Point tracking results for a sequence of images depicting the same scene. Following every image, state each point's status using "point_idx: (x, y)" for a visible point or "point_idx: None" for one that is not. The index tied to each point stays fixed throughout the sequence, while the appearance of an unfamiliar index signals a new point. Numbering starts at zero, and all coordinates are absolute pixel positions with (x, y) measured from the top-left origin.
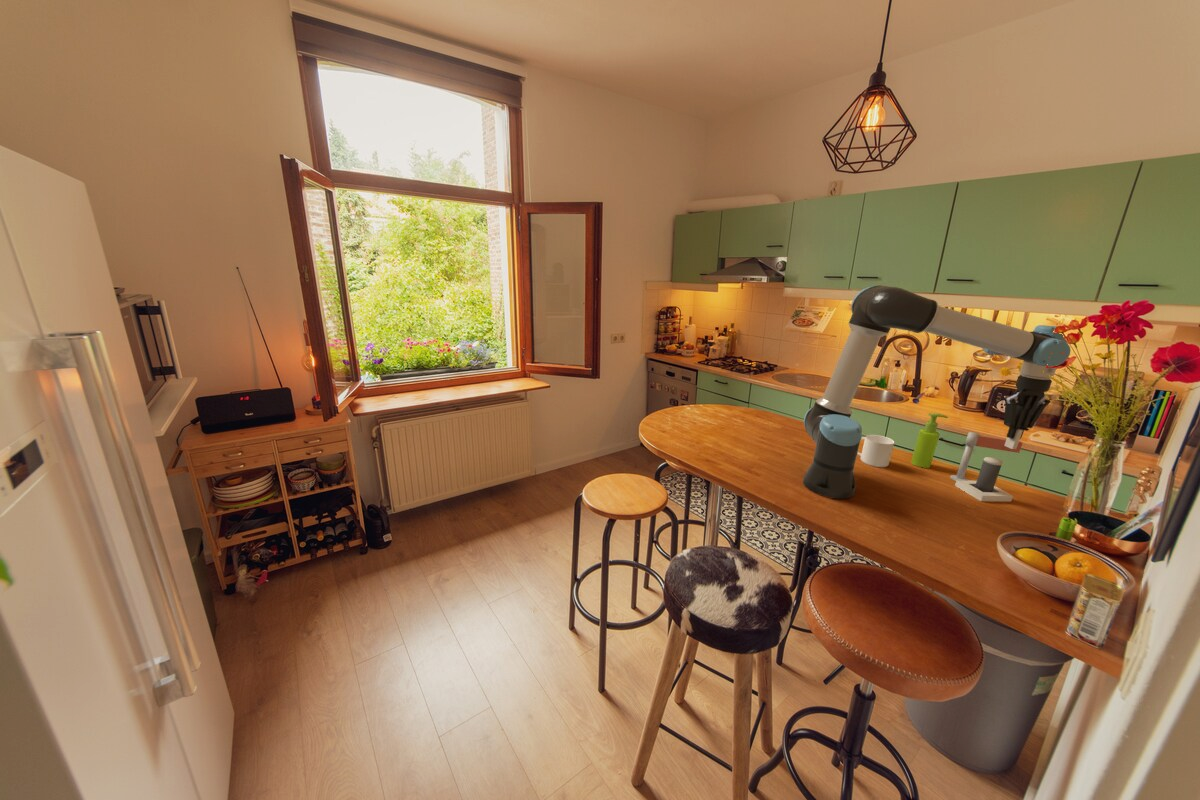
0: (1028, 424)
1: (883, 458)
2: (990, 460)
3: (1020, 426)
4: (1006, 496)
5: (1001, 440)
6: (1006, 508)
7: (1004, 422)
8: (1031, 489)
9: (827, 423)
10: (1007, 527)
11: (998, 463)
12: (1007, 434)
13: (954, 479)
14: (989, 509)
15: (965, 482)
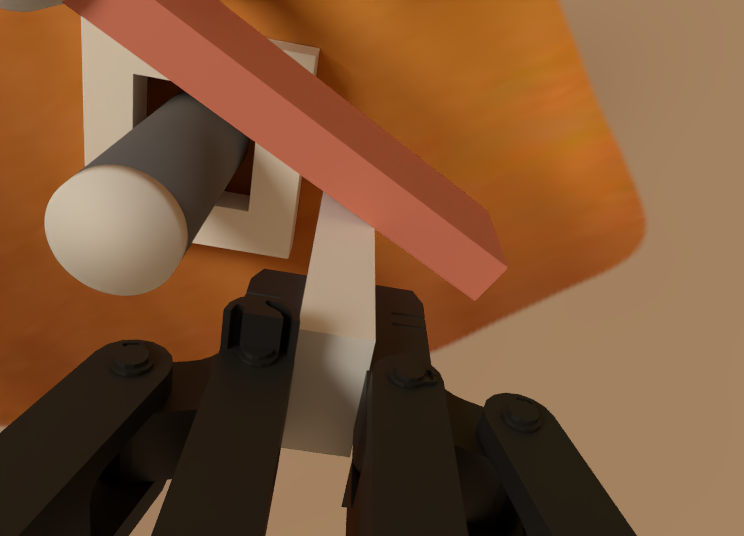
0: (467, 519)
1: None
2: (74, 240)
3: (359, 444)
4: (245, 250)
5: (304, 171)
6: (185, 289)
7: (74, 379)
8: (618, 148)
9: None
10: (21, 403)
11: (107, 289)
12: (246, 294)
13: None
14: (75, 281)
15: (127, 53)
